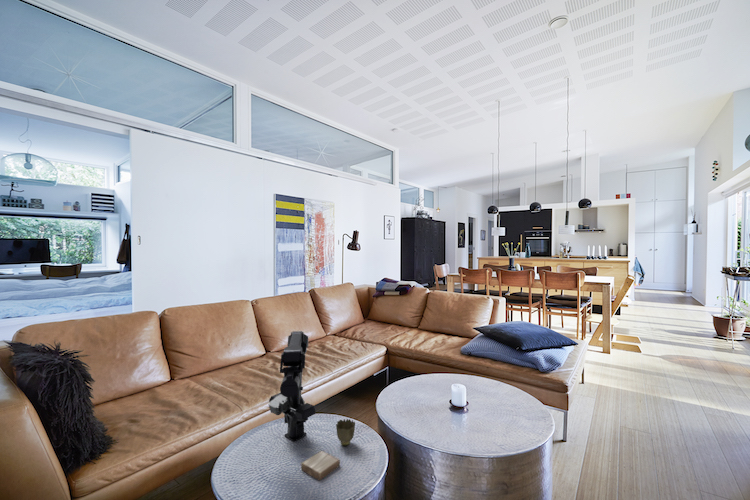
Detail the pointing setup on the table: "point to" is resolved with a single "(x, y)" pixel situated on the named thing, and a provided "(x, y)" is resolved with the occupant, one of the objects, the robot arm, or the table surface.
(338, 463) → the wooden block
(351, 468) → the table surface
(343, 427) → the cup
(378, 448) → the table surface
